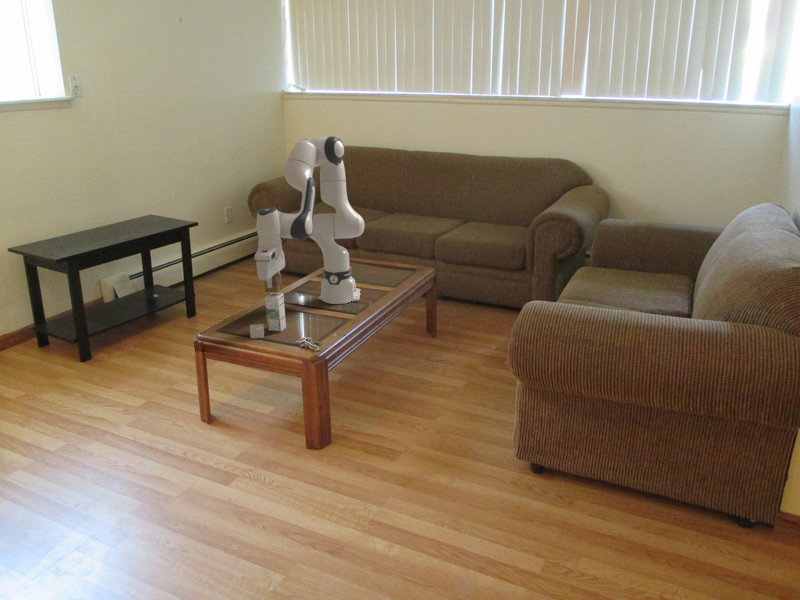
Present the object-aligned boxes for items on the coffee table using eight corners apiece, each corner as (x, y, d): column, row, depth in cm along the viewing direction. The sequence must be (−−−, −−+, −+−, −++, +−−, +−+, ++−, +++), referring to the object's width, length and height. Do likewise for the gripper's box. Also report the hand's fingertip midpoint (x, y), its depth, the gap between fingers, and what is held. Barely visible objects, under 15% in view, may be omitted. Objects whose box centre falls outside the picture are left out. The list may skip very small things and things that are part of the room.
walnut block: (270, 288, 270) (268, 273, 268) (282, 288, 269) (281, 273, 267) (265, 291, 265) (264, 277, 263) (277, 292, 264) (276, 277, 262)
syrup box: (286, 327, 274) (283, 292, 270) (280, 332, 269) (278, 297, 264) (273, 326, 275) (270, 292, 271) (267, 331, 270) (264, 296, 265)
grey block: (251, 334, 268) (250, 324, 266) (264, 333, 268) (263, 323, 267) (250, 339, 263) (249, 329, 262) (263, 338, 264) (263, 328, 262)
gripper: (272, 243, 272) (275, 277, 277) (252, 256, 253) (255, 292, 258) (287, 244, 271) (290, 277, 276) (268, 257, 252) (271, 293, 256)
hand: (273, 285), depth 266 cm, fingers closed on walnut block, 5 cm apart
